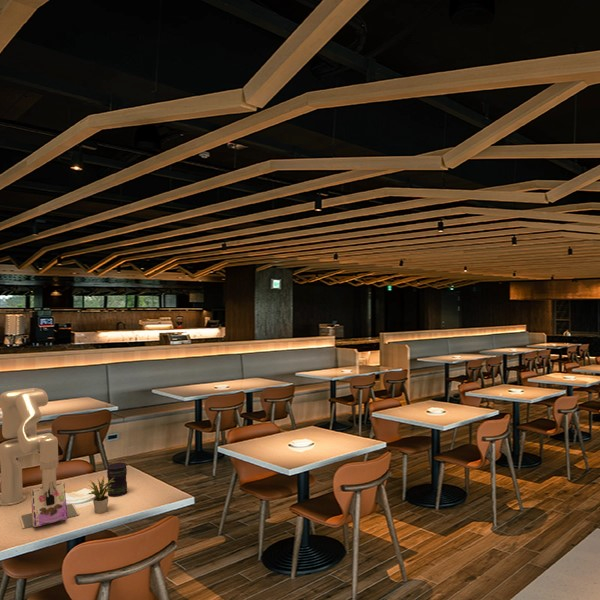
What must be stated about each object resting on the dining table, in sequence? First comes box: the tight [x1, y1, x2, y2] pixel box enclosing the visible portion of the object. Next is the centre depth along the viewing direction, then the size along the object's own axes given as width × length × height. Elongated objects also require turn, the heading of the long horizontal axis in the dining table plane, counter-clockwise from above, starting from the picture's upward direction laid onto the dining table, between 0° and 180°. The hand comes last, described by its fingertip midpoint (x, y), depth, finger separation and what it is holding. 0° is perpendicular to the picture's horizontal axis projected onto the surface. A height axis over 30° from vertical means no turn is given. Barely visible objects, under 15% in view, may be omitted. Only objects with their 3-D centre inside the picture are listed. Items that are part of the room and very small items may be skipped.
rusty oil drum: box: [106, 462, 128, 498], centre depth 267 cm, size 10×10×15 cm
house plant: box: [87, 476, 114, 514], centre depth 244 cm, size 14×14×16 cm
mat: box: [18, 502, 80, 530], centre depth 240 cm, size 16×24×1 cm
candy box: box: [30, 482, 69, 528], centre depth 233 cm, size 14×6×16 cm, turn 126°
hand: (50, 504), depth 229 cm, fingers closed
